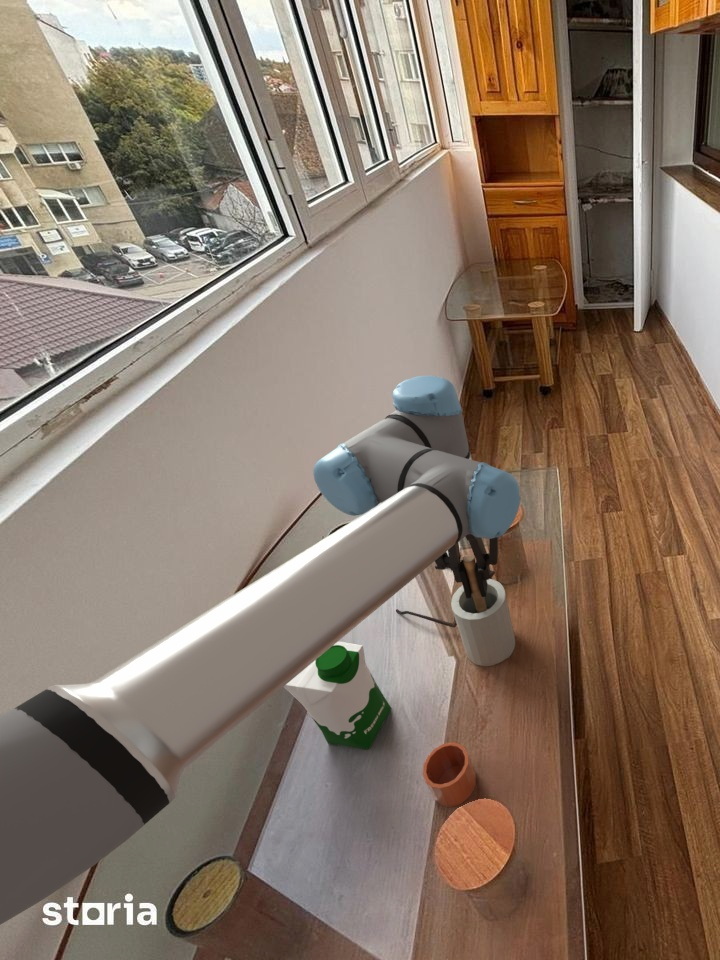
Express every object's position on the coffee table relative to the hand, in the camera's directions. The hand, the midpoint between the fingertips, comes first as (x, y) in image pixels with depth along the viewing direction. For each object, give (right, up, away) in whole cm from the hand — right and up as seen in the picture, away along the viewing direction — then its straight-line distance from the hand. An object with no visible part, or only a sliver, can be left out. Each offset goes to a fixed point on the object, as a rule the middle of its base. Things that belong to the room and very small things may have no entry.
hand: (477, 591), depth 87 cm
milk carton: (-18, -22, -3) cm, 29 cm away
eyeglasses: (-12, -6, +18) cm, 23 cm away
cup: (0, -13, +9) cm, 16 cm away
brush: (0, -9, +7) cm, 12 cm away
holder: (0, -27, -10) cm, 29 cm away
